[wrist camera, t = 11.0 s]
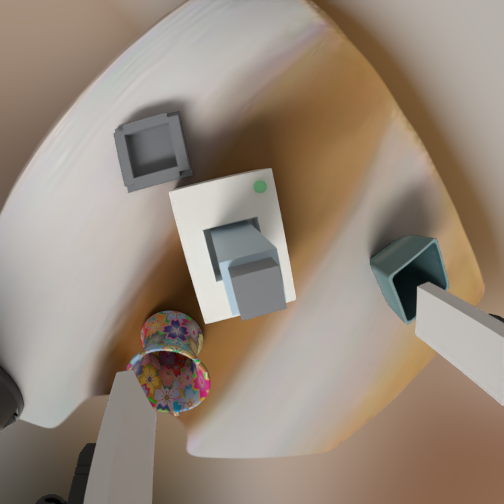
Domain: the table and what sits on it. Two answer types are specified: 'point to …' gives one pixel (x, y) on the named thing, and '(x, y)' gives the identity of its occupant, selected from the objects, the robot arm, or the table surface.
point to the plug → (249, 270)
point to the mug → (171, 363)
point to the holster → (152, 151)
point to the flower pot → (408, 272)
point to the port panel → (222, 213)
